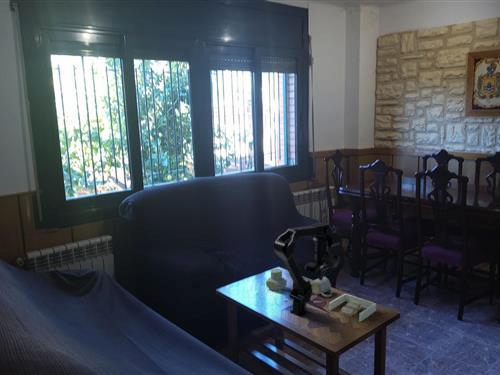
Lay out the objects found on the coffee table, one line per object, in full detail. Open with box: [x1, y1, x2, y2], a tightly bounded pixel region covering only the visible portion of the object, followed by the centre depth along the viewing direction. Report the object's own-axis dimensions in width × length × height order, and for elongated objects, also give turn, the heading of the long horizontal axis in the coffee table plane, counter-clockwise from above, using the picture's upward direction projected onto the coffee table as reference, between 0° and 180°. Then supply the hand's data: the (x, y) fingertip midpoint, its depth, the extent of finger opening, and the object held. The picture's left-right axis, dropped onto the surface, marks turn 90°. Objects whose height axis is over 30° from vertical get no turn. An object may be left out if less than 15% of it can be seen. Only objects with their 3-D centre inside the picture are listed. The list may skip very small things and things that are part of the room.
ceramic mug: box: [310, 276, 333, 298], centre depth 217 cm, size 11×8×8 cm
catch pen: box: [328, 293, 377, 322], centre depth 199 cm, size 14×17×4 cm
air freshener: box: [265, 268, 288, 292], centre depth 223 cm, size 11×8×10 cm
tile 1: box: [341, 303, 358, 318], centre depth 196 cm, size 5×5×3 cm
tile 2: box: [345, 300, 362, 313], centre depth 200 cm, size 5×5×3 cm
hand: (320, 280), depth 204 cm, fingers closed
